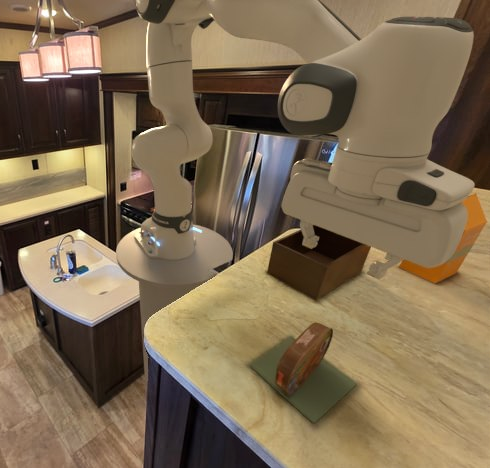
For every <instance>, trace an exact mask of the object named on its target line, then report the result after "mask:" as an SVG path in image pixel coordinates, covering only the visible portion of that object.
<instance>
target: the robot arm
mask: <svg viewBox="0 0 490 468" xmlns="http://www.w3.org/2000/svg"><path fill="white" fill-rule="evenodd" d="M134 5H135V9H136V12H137V14H138V16H139V17H140V19H141V20H143V21H144V22H147V23H148V25H147V32H146V50H145V51H146V55H145V56H146V72H147V85H148V96H149V101H150V103H151V105H152V106H153V107H154V108H156V109H157V110H159V111H160V112H161V113H162V116H163V118H164V121H165V125H163V126H158V127H153V128H150V129H147V130H145V131H144V132H141V133H140V134H138V135H136V136H135V137H134V139H133V141H132V143H131V151H130V152H131V158H132V160H133V162H134V164H135V166H137V168H138V169H139V170H141V172H143V173H145V174H146V175H147V176H148V177H149V180H150V181H151V185H152V188H153V197H154V207H153V206H152V207H150V212H152V214H151V217H149V218H146V219H145V220H144V221H143V222H142V223H141V224H140V228H141V231H140V232H138V233H137V234H136V235H135V236H134V238H135V240H136V241H137V243H138V244H139V245H140V247H141V248H142V249H143V251H144V252H145V253H146V255H147V256H148V257H149V258H161V259H166V260H180V259H184V258H187V257H189V256H191V255H192V254H193V253H194V251H195V247H194V244H195V241H196V240H195V237H194V234H193V230H196V231H198V232H201V233H202V231H201V230H199V229H196V228H194V227H193V224H194V221H193V216H194V213H193V208H192V199H193V198H192V195H193V187H192V184H191V183H190V181H189V180H188V179H187V178H185V177H182V174H181V165H183V164H187V163H190V162H192V161H195V160H198V159H199V158H201V157H203V156H204V155H206V154H207V153H208V152H209V151H210V150H211V148H212V146H213V142H214V135H213V131H212V129H211V128H210V126H209V125H208V124H207V123H206V122H205V121H204V120H203V119H202V117H201V115H200V113H199V110H198V107H197V105H196V99H195V96H194V95H195V93H194V82H193V81H194V79H193V78H194V77H193V52H192V51H193V50H192V38H193V34H194V32H195V29H196V28H197V27H199V28H201V29H202V30H205V29H207V28H208V27H209V26H210V25H211V24H212V23H214V22H215V23H216V24H217V25H218V26H219V27H220V28H221V29H223V30H224V32H227V33H228V34H229V35H231V36H233V37H235V38H240V39H246V40H256V41H264V42H269V43H274V44H279V45H282V46H283V47H287V48H289V49H291V50H292V51H294V52H296V53H297V54H298V55H299V56H300V57H301V58H302V60H304V62H306V64H303V65H301V66H299V67H297V68H296V69H295V70H293V72H292V73H291V74H290V75H289V76H288V78H286V80H285V81H284V83H283V85H282V87H281V89H280V92H279V95H278V100H277V115H278V118H279V121H280V124H281V125H282V126H283V128H284V129H285V130H286V131H287V132H288V133H290V134H292V135H296V136H303V137H315V136H321V135H334V136H336V137H337V138H338V142H337V145H336V149H335V152H334V156H333V160H332V162H330V161H325V160H317V159H314V158H310V157H305V158H304V159H301V160H298V161H296V162H295V163H294V164H293V165H292V167H291V172H290V176H289V177H290V178H289V179H290V180H289V182H288V185H287V186H286V189H285V192H284V195H283V198H282V201H281V206H280V207H281V210H282V212H283V214H285V215H287V216H290V217H293V218H295V219H297V220H300V222H299V227H300V230H301V231H302V234H303V236H304V239H303V243H302V245H303V246H306V247H308V248H310V249H312V248H314V247H316V246H317V244H318V242H317V241H319V237H318V236H316V235H315V234H314V229H313V225H316V226H318V227H321V228H324V229H326V230H329V231H331V232H334V233H337V234H339V235H342V236H345V237H347V238H350V239H352V240H355V241H358V242H360V243H363V244H365V245H368V246H371V248H374V249H376V250H378V251H381V252H384V253H386V255H385V257H384V259H385V260H386V262H381V261H379V260H376V261H374V262H373V263H371V264H370V265H369V267H368V270H367V272H366V275H368V276H370V277H372V278H374V279H377V280H381V279H383V278H384V277H385V276H386V274H387V272H388V270H389V269H391V268H392V267H394V266H396V265H399V264H401V262H402V261H403V260H404V259H405V260H407V261H410V262H412V263H415V264H418V265H420V266H423V267H426V268H432V267H436V266H439V265H442V264H444V263H445V262H446V261H447V260H449V259H450V258H451V256H452V255H453V253H454V252H455V250H456V248H457V246H458V244H459V242H460V240H461V237H462V235H463V232H464V229H465V226H466V223H467V218H468V212H467V209H466V207H465V206H464V204H463V203H461V202H462V201H463V200H465V199H466V198H467V197H468V196H470V195H471V194H472V192H473V190H474V189H475V185H476V184H475V182H474V181H473V180H472V179H470V178H468V177H467V176H464V175H462V174H459V173H457V172H455V171H452V170H450V169H448V168H446V167H444V166H441V165H440V164H437V163H436V162H434V161H431V160H429V159H428V157H429V155H430V152H431V151H432V146H433V144H432V143H433V142H432V141H433V136H434V134H435V131H436V129H437V127H438V125H439V123H440V122H441V121H442V120H443V118H444V117H445V116H446V115H447V114H448V112H449V111H450V109H451V107H452V104H453V102H454V101H455V97H456V95H457V92H458V90H459V87H460V85H461V82H462V80H463V78H464V74H465V72H466V69H467V66H468V63H469V60H470V56H471V54H472V53H471V52H472V49H473V45H474V38H475V37H474V36H475V34H474V29H473V27H472V26H471V25H470V24H469V23H468V22H467V21H465V20H463V19H461V18H456V17H446V16H445V17H443V16H398V17H393V18H391V19H387V20H385V21H383V22H382V23H380V24H378V25H377V27H375V28H374V29H373V30H372V31H371V32H370V33H368V35H366V36H365V37H363V38H361V37H360V36H359V35H358V34H357V33H356V32H354V30H353V29H351V28H350V27H349V26H348V25H347V24H346V23H345V22H344V21H343V20H342V19H341V18H340V17H339V16H338V15H337V14H336V13H334V11H333V10H332V9H331V8H330V7H328V6H327V5H326V4H325V3H324V2H322V1H321V0H134Z"/></svg>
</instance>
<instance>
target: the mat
mask: <svg viewBox="0 0 490 468" xmlns="http://www.w3.org/2000/svg"><path fill="white" fill-rule="evenodd" d="M296 339H297V338H294V337H293V336H289V337H288V338H286V339H284V340H283V341H281V342H280V343H279V344H277V345H276V346H274V347H273V348H271V349H270V350H268V351H267V352H265V353H264V354H263V355H262V356H261V355H260V357H258V358H257V359H255V360H254V361H252V362H251V363H250V364H249V367H250V368H251V369H252V370H253V371H254V372H255V373H256V374H258V375H259V377H261V378H262V379H264V381H266V382H267V383H268V385H270V386H271V387H272V388H273V389H274V390H276V392H277V393H279V394H280V395H281V396H282V397H283V398H284V399H285V400H286V401H288V402H289V403H290V404H291V405H292V406H293V407H294V408H295V409H296V410H298V411H299V412H300V413H301V414H302V415H303V416H304V417H305V418H306V419H308V421H310V423H312V424H313V425H314V424H316V423H317V422H318V421H319V420H320V419H321V418H322V417H323V416H325V415H326V414H327V413H328V412H329V411H330V410H331V409H332V408H333V407H334V406H335V405H336V404H338V402H340V401H341V400H342V399H343V398H344V397H345V396H346V395H348V393H349V392H351V391H352V390H353V389H354V388H355V387H356V386H357V385H358V383H357V381H355V380H354V379H352V378H350V377H349V376H348V375H347V374H345V373H344V372H342V371H341V370H339V369H338V368H337V367H335V366H334V365H333V364H331V363H329V362H328V361H327V360H325V359H324V358H323V359H322V361H321V362H320V364H319V365H318V366H317V368H316V369H315V370H314V371H313V372H312V373H311V375H310V376H309V377H308V378H307V379H306V381H305V382H304V383H303V384H302V385H301V387H300V388H299V389H298V390H297V391H296V392H295V393H294V394H292V395H289V394H288V393H287V392H286V391H284V390H283V389H281V388H280V387H279V386H277V385H276V384H275V376H276V369H277V365H278V363H279V361H280V359H281V357H282V355H283V354H284V352H285V351H286V350H287V348H288V347H289V346H290V345H291V344H292V343H293V342H294V341H295V340H296Z"/></svg>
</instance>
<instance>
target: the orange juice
mask: <svg viewBox="0 0 490 468" xmlns="http://www.w3.org/2000/svg"><path fill="white" fill-rule="evenodd" d="M461 203H463V204H464V206H465V207H466V209H467V212H468V218H467V223H466V226H465V229H464V232H463V235H462V237H461V240H460V242H459V244H458V246H457V248H456V250H455V252H454V253H453V255H452V256H451V258H450V259H449V260H447V261H446V262H445V263H444V264H442V265H439V266H436V267H432V268H426V267H423V266H420V265H418V264H415V263H412V262H410V261H407V260H405V259H404V260H403V261H401V262H400V263H399V266H398V268H399V269H402V270H403V271H406V272H408V273H410V274H413V275H414V276H418V277H420V278H422V279H424V280H427V281H428V282H431V283H433V284H437V283H439V282H441V281H443V280H445V279H447V278H450V277H452V276H453V275H456V274H457V273H458V271H459V269H460V268H461V266H462V264H463V263H464V261H465V259H466V258H467V256H468V254H469V253H470V252H471V250H472V248H473V246H474V245H475V243H476V241H477V239H478V238H479V236H480V235H481V233H482V231H483V230H484V228H485V226H486V225H487V223H488V220H487V218H486V215H485V212H484V210H483V207H482V205H481V202H480V200H479V197H478V195H477V193H473V194H470V195H469V196H468V197H467V198H466V199H465V200H463V201H462V202H461Z"/></svg>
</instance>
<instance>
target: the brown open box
mask: <svg viewBox="0 0 490 468" xmlns="http://www.w3.org/2000/svg"><path fill="white" fill-rule="evenodd" d="M313 229H314V234H315V235H316V236H318V237H319V241H317V242H318V244H317V246H316V247H314V248H312V249H310V248H308V247H306V246H303V245H302V243H303V239H304V236H303V234H302V231H301V229H299V230H296V231H294V232H292V233H290V234H287V235H285V236H283V237H281V238H279V239H277V240H274V241H273V242H272V246H271V251H270V255H269V260H268V266H267V271H266V273H267V274H269V275H270V276H272V277H274V278H275V279H277V280H280V281H281V282H282V283H284V284H286V285H288V286H290V287H291V288H293V289H295V290H296V291H298V292H300V293H302V294H304V295H306V296H308V298H311V299H313V300H314V301H318V300H320V299H322V298H323V297H324V296H326V295H327V294H329V293H331V292H332V291H334V290H335V289H337V288H339V287H340V286H342V285H343V284H345V283H346V282H348V281H350V280H351V279H353V278H354V277H356V276H357V275H359V274H360V273H362V271H363V268H364V266H365V264H366V260H367V258H368V256H369V254H370V251H371V249H372V247H371V246H368V245H365V244H363V243H360V242H358V241H355V240H352V239H350V238H347V237H345V236H342V235H339V234H337V233H334V232H331V231H329V230H326V229H324V228H321V227H318V226H316V225H313Z"/></svg>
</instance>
